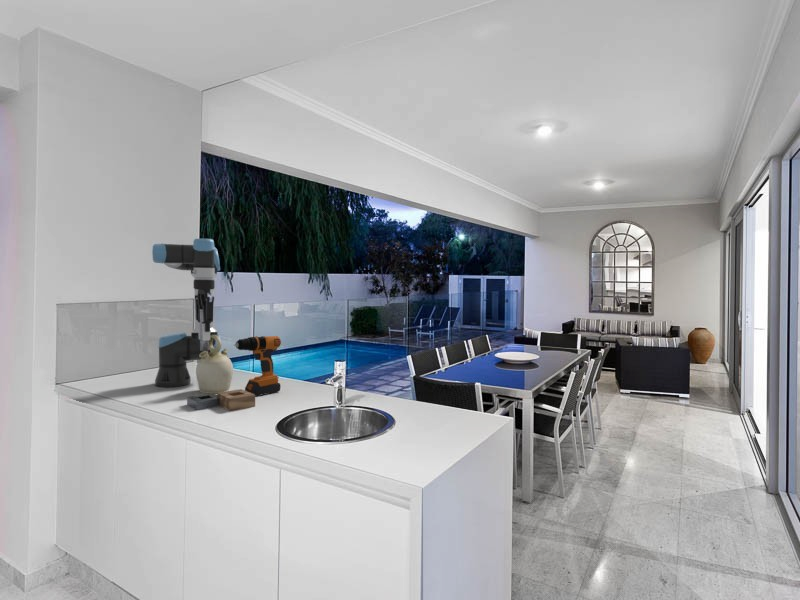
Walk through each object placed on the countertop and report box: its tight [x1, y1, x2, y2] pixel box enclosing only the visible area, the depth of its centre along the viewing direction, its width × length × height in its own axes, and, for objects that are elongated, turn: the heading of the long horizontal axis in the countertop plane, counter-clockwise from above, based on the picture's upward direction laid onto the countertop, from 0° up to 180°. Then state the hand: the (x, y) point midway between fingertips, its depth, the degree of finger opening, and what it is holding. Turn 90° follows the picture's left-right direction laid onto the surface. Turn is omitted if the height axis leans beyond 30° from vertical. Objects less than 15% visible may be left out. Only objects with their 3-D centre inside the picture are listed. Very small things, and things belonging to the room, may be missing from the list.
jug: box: [195, 335, 234, 394], centre depth 214 cm, size 15×16×25 cm
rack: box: [216, 388, 256, 412], centre depth 190 cm, size 12×10×5 cm
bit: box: [200, 309, 209, 351], centre depth 189 cm, size 3×3×16 cm
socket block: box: [186, 393, 221, 411], centre depth 190 cm, size 10×10×4 cm
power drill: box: [233, 335, 282, 397], centre depth 210 cm, size 22×7×25 cm, turn 138°
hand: (204, 339), depth 189 cm, fingers closed on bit, 3 cm apart
